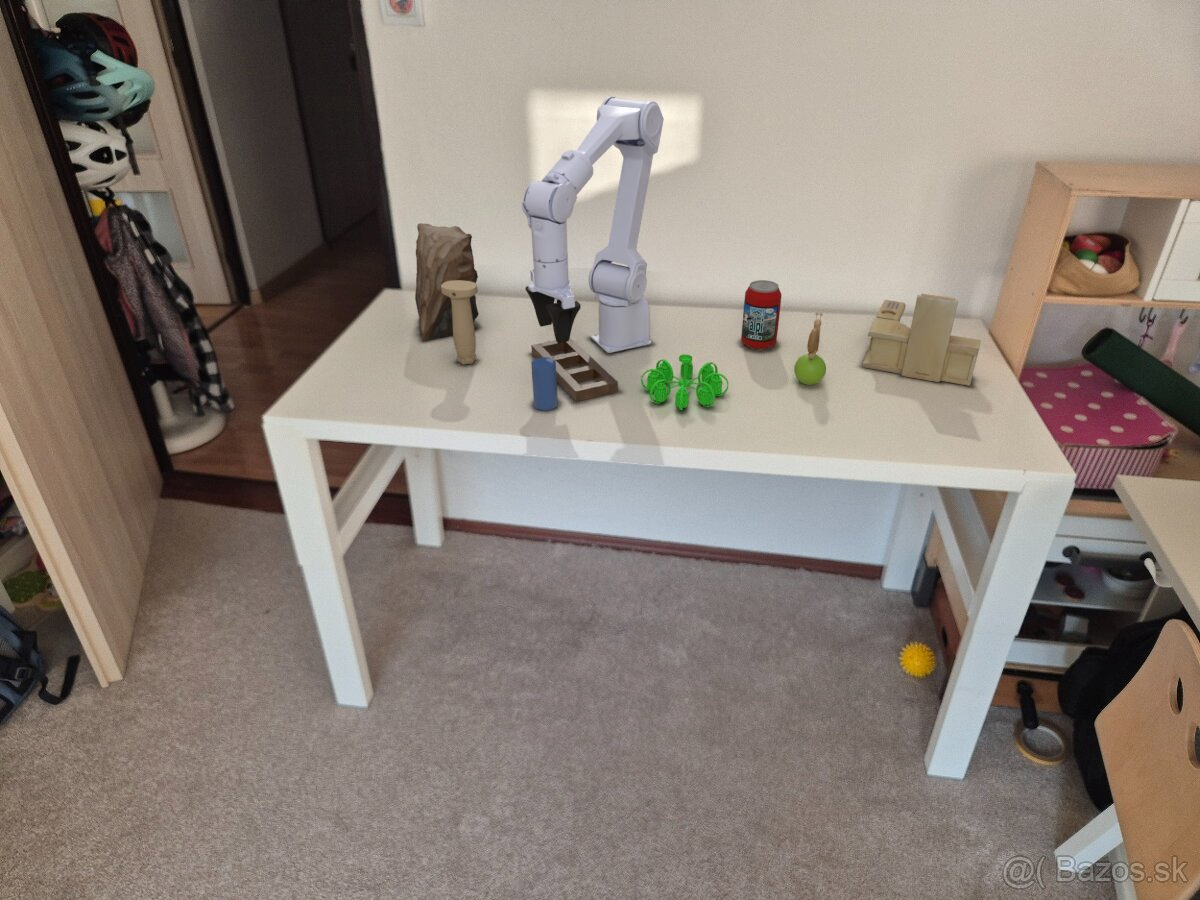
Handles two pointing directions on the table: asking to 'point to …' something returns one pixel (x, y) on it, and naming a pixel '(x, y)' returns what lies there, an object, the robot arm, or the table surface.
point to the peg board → (576, 370)
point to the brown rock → (441, 276)
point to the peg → (544, 383)
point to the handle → (462, 318)
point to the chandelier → (684, 382)
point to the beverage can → (761, 314)
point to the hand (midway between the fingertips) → (554, 333)
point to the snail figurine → (811, 359)
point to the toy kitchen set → (922, 342)
